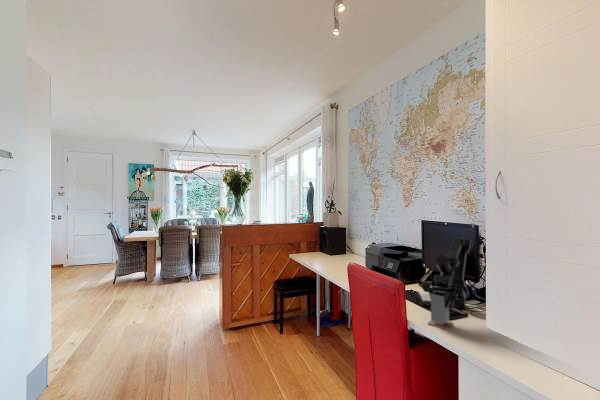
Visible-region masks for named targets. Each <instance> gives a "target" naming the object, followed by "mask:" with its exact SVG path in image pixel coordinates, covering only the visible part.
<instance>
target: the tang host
mask: <svg viewBox="0 0 600 400" xmlns="http://www.w3.org/2000/svg"><path fill="white" fill-rule="evenodd" d="M427 325H429V326H432V327H436V328H439V329H443V330H446V331H449V329H450V328H451V327H452V326H453V325H454V322H452V321H450V320H448V321H447V322H446V323H443V322H439V321H435V320H432V319H430V320H429V322H427Z"/></svg>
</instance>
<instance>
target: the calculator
mask: <svg viewBox="0 0 600 400" xmlns="http://www.w3.org/2000/svg"><path fill="white" fill-rule="evenodd" d="M418 295H419V297H420V299H421V301H422V303H423V304H424V303H431V299H430V294H429V292H425V291H424V290H423V291H419V290H418V291H417V296H418ZM422 303H421V304H422Z"/></svg>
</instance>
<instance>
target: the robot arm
mask: <svg viewBox="0 0 600 400" xmlns="http://www.w3.org/2000/svg"><path fill="white" fill-rule="evenodd" d="M469 240H470V239H465V238H463V237H454V238H453V239H452V243H451V246H450V247H449V250H448V251H447V252H445V253H444V254H440V255H439V256H438V257H436V259H434V263H435V264H436V267H437V269H438V270H439V271H440V273H439V275H438V274H434V276H433V282H434V284H435V285H436V286H435V285H433V284H432V282H430V281H429V282H428V281H422V282H421V284H420V287H421V288H422V289H423V292H429V294H431V293H432V292H434V291H438V292H443V293H448V299H447V302H446V308H448V307H449V308H450V306H451V308H454V309H460V310H464V311H465V310H466V309H467V308H468V307H469V306H468V305H466V299H469V298H470V292H469V289H468V287H467V283H466V282H465V279H464V278H465V271H466V264H467V256H468V255H469V254H470V253H471V252H470V248H471V242H472V240H470V241H469ZM471 249H472V248H471Z"/></svg>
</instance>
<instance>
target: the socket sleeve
mask: <svg viewBox="0 0 600 400" xmlns="http://www.w3.org/2000/svg"><path fill="white" fill-rule="evenodd" d="M448 294H449V293H446V292H441V291H436V290H435V291H434V292H432V293H431V294H430V299H431V306H430V313H431V314H430V320H435V321H439V322H443V323H446V322H447V321H450V306H449V307H448V308H446V302H447V299H448Z"/></svg>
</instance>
